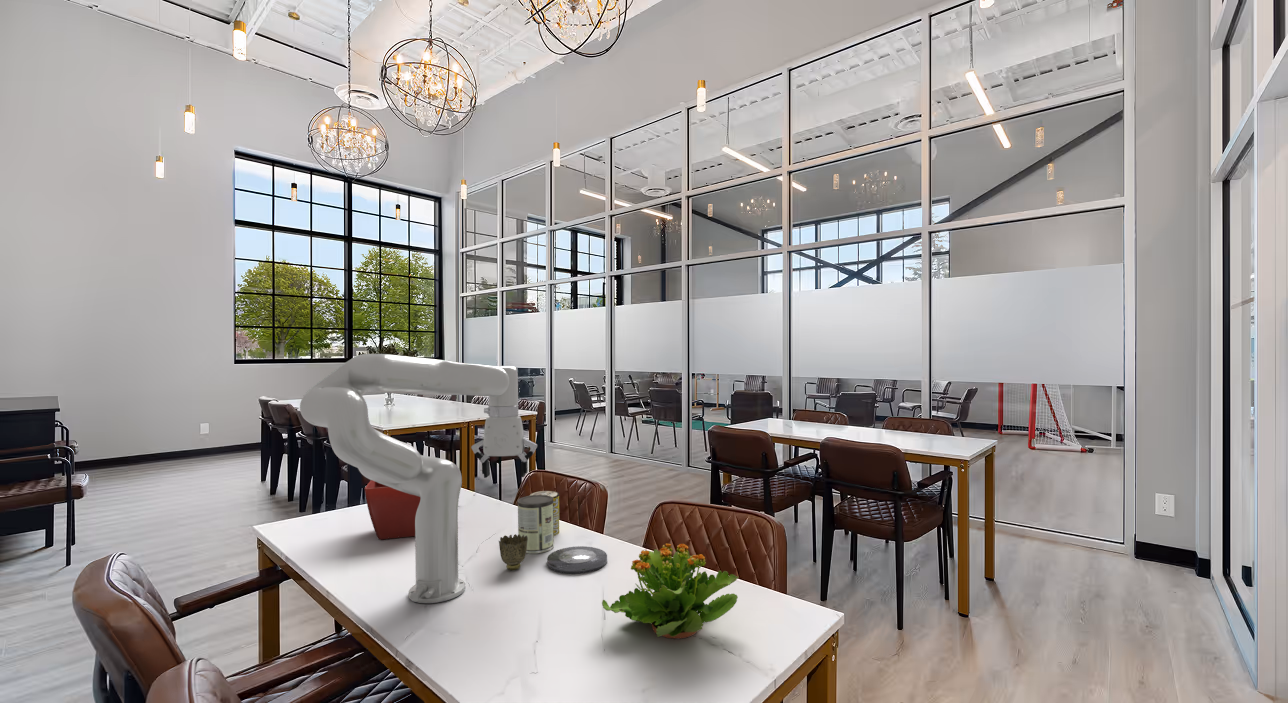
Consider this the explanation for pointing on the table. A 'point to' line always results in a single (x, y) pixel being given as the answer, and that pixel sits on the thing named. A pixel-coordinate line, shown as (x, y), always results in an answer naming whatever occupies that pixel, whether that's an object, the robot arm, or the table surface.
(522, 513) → the coffee can
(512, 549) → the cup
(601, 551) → the gray dinner plate
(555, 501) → the yellow tin can
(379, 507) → the plant pot
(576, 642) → the table surface
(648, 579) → the potted flower
